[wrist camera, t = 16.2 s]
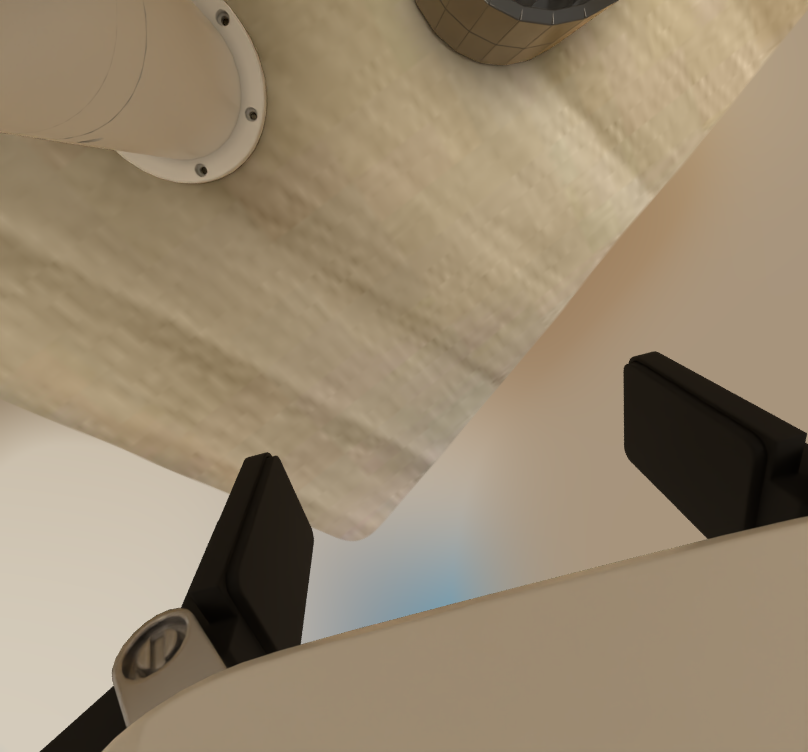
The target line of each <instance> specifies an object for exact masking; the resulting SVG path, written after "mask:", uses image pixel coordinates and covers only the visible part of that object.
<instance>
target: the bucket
mask: <svg viewBox="0 0 808 752" xmlns="http://www.w3.org/2000/svg"><path fill="white" fill-rule="evenodd" d="M415 1H416V4H417V5H418V7H419V9H420V10H421V12H422V13H423V15H424V17H425V18H426V20H427V21H428V23H429V24H430V26H431V28H432V29H433V30H434V31H435V33H436V34H437V35H438V36H439V37H440V38H442V39H443V40H444V41H445V42H446V43H447V44H448V45H449V46H450V47H451V48H452V49H453V50H455V51H456V52H458V53H460V54H462V55H464V56H466V57H468V58H470V59H472V60H474V61H477V62H479V63H486V64H494V65H502V66H503V65H509V64H514V63H519V62H524V61H528V60H531V59H532V58H534V57H536V56H538V55H540V54H542V53H543V52H545V51H547V50H549V49H551V48H552V47H554V46H555V45H557V44H558V43H559V42H561V41H562V40H564V39H565V38H566V37H568V36H569V35H571V34H572V33H573V32H575V31H576V30H578V29H579V28H580V27H582V26H583V25H585V24H586V23H587V22H589V21H590V20H592V19H593V18H595V17H596V16H597V15H599V14H600V13H602V12H603V11H604V10H606V9H607V8H609V7H610V6H611V5H613V4H614V3H616V2H617V1H618V0H537V1H536V2H535V3H534V4H533V5H532V6H531V7H529V6H523V5H521V4H519V3H517V2H516V1H514V0H415Z"/></svg>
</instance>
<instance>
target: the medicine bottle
mask: <svg viewBox="0 0 808 752" xmlns="http://www.w3.org/2000/svg"><path fill="white" fill-rule="evenodd" d="M514 1H516V2H517V3H519V4H521V5H523V6H529V7H531V6H532V5H533V4H534V3H535V2H536V1H537V0H514Z"/></svg>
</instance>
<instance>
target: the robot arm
mask: <svg viewBox="0 0 808 752" xmlns="http://www.w3.org/2000/svg"><path fill="white" fill-rule="evenodd" d="M225 18H228V19H229V24H228V25H226V26H224V25H223V19H225ZM266 103H267V95H266V86H265V77H264V74H263V70H262V66H261V63H260V59H259V56H258V54H257V52H256V49H255V47H254V45H253V43H252V40H251V38H250V36H249V35H248V33H247V31H246V30H245V28H244V26H243V25H242V23H241V22H240V20H239V19H238V17H237V16H236V15H235V13H234V12H233V11H232V9H231V8H230V7H229V6H228V4H227V3H226V2H225V1H224V0H0V133H6V134H13V135H20V136H27V137H34V138H38V139H44V140H50V141H57V142H64V143H70V144H77V145H83V146H90V147H97V148H103V149H110V150H115V151H116V152H117V153H118V154H120V155H121V156H122V157H123V158H124V159H125V160H127V161H128V162H130V163H131V164H133V165H134V166H136V167H137V168H139V169H141V170H142V171H144V172H147V173H149V174H151V175H153V176H156V177H158V178H161V179H165V180H169V181H173V182H177V183H206V182H210V181H213V180H217V179H221V178H222V177H224V176H226V175H228V174H230V173H232V172H234V171H235V170H236V169H237V168H238V167H240V166H241V165H242V164H243V163H244V162H245V161H246V160H247V159H248V157H249V156H250V155H251V153H252V152H253V151H254V149H255V147H256V145H257V143H258V141H259V138H260V136H261V134H262V130H263V126H264V122H265V118H266ZM253 112H255V113H256V115H257V118H256V119H255V120H252V119H251V113H253ZM203 167H205V168H206V169H207V173H206V174H203V172H202V168H203ZM806 436H807V433H805V432H803V431H802V430H800V429H798V428H796V427H794V426H792V425H791V424H789V423H787V422H785V421H783V420H781V419H780V418H778V417H776V416H774V415H772V414H770V413H769V412H767V411H765V410H763V409H761V408H759V407H758V406H756V405H754V404H752V403H750V402H748V401H747V400H744V399H743V398H741V397H739V396H737V395H736V394H733V393H731V392H730V391H728V390H726V389H725V388H723V387H721V386H719V385H717V384H715V383H714V382H712V381H710V380H708V379H706V378H704V377H703V376H701V375H699V374H697V373H695V372H693V371H692V370H690V369H688V368H686V367H684V366H682V365H681V364H679V363H677V362H675V361H673V360H671V359H670V358H668V357H666V356H664V355H662V354H660V353H658V352H650V353H646V354H642V355H638V356H634V357H632V358H631V359H630V361H629V364H626V365H625V367H624V449H625V453H626V455H627V457H628V459H629V460H630V461H631V462H632V463H633V464H634V465H635V466H636V467H637V468H638V469H639V470H640V471H641V472H642V473H643V474H644V475H645V476H646V477H647V478H648V479H649V480H650V481H651V482H652V483H653V484H654V485H655V486H656V487H657V488H658V489H659V490H660V491H661V492H662V493H663V494H664V495H665V496H666V497H667V498H668V499H669V500H670V501H671V502H672V503H673V504H674V505H675V506H676V507H677V509H679V510H680V511H681V513H682V514H683V515H684V516H685V517H686V518H687V519H688V520H690V521H691V523H692V524H693V525H694V526H695V527H696V528H697V529H698V530H699V531H700V532H701V533H702V534H703V535H704V536H706V538H707V540H703V541H699V542H695V543H691V544H687V545H683V546H679V547H675V548H671V549H667V550H663V551H659V552H654V553H651V554H647V555H643V556H638V557H635V558H630V559H627V560H623V561H619V562H615V563H611V564H606V565H602V566H599V567H595V568H591V569H587V570H583V571H579V572H575V573H571V574H567V575H564V576H559V577H555V578H551V579H548V580H544V581H540V582H536V583H532V584H528V585H524V586H520V587H516V588H512V589H509V590H505V591H501V592H497V593H493V594H489V595H485V596H481V597H478V598H474V599H470V600H466V601H462V602H458V603H454V604H450V605H447V606H443V607H439V608H435V609H431V610H428V611H424V612H420V613H416V614H412V615H409V616H405V617H401V618H397V619H393V620H389V621H386V622H382V623H378V624H374V625H370V626H367V627H363V628H359V629H355V630H352V631H348V632H344V633H341V634H337V635H334V636H330V637H326V638H323V639H319V640H316V641H313V642H309V643H305V644H301V636H302V630H303V621H304V614H305V606H306V598H307V591H308V583H309V575H310V568H311V560H312V552H313V545H314V537H313V532H312V528H311V526H310V524H309V522H308V519H307V517H306V515H305V513H304V511H303V509H302V506H301V504H300V502H299V500H298V498H297V495H296V493H295V491H294V489H293V487H292V485H291V482H290V480H289V478H288V476H287V474H286V471H285V469H284V467H283V465H282V463H281V460H280V459H279V457H278V456H273V457H272V455H271V454H270V453H268V452H267V453H263V454H259V455H255V456H251V457H248V458H246V459H245V460H244V462H243V465H242V467H241V469H240V472H239V474H238V476H237V479H236V481H235V484H234V486H233V488H232V491H231V493H230V495H229V498H228V500H227V502H226V505H225V507H224V510H223V512H222V514H221V517H220V519H219V521H218V522H217V525H216V527H215V529H214V532H213V534H212V536H211V539H210V541H209V543H208V546H207V548H206V551H205V553H204V555H203V557H202V560H201V562H200V564H199V567H198V569H197V571H196V574H195V576H194V578H193V581H192V583H191V586H190V588H189V590H188V593H187V595H186V597H185V600H184V602H183V604H182V607H181V608H176V609H170V610H168V611H165V612H163V613H160V614H158V615H156V616H155V617H153V618H152V619H150V620H149V621H147V622H146V623H144V624H143V625H142V626H141V627H140V628H139V629H138V630H137V631H135V632H134V633H133V634H132V636H131V637H130V638H129V639H128V640H127V642H126V643H125V644H124V645H123V647H122V649H121V650H120V652H119V654H118V656H117V657H116V659H115V662H114V666H113V668H112V681H113V685H114V686H113V687H112V688H111V689H110V690H108V691H107V692H106V693H105V694H104V695H103V696H102V697H101V698H100V699H98V700H97V701H96V702H95V703H94V704H93V705H92V706H90V707H89V708H88V709H87V710H86V711H85V712H84V713H83V714H82V715H80V716H79V717H78V718H77V719H76V720H75V721H74V722H73V723H71V724H70V725H69V726H68V727H67V728H66V729H65V730H64V731H63V732H61V733H60V734H59V735H58V736H57V737H56V738H55V739H54V740H52V741H51V742H50V743H49V744H48V745H47V746H46V747H45V748H43V749H42V750H41V751H40V752H808V444H807V443H805V441H806Z"/></svg>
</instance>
